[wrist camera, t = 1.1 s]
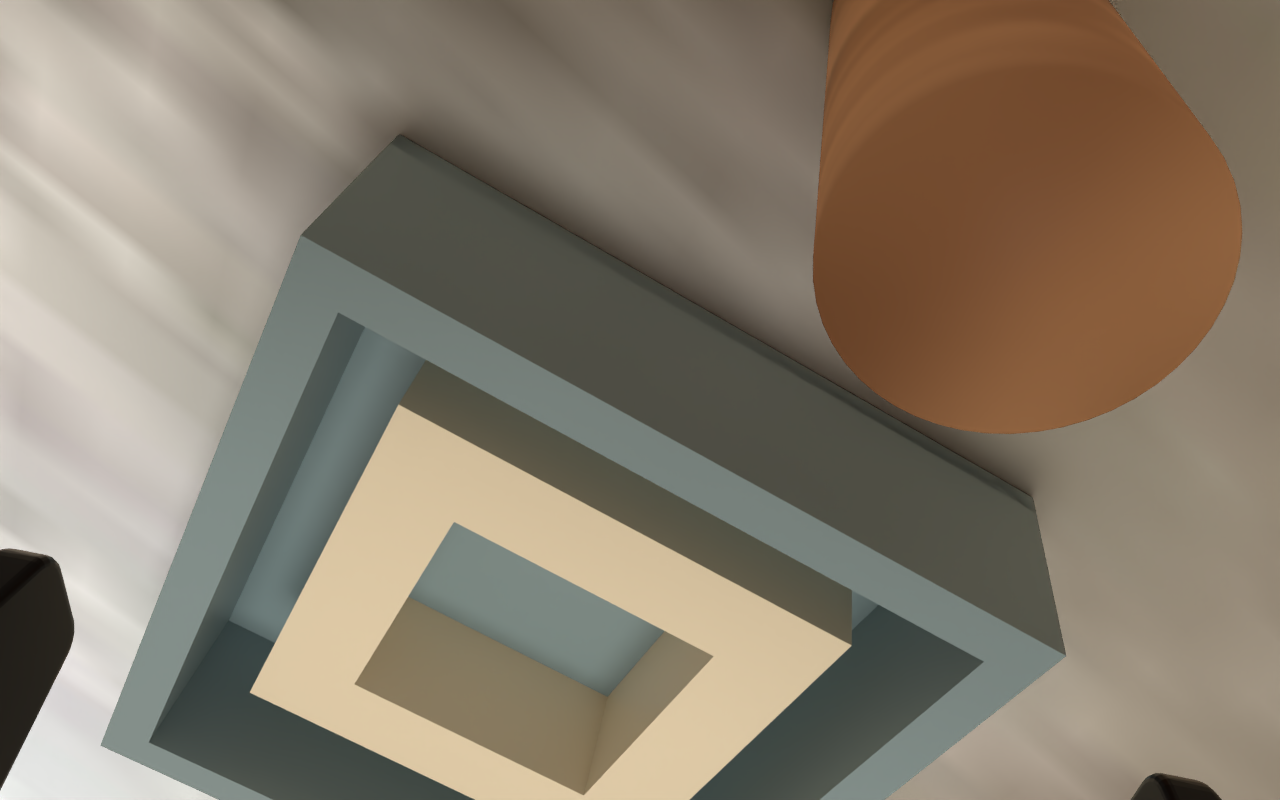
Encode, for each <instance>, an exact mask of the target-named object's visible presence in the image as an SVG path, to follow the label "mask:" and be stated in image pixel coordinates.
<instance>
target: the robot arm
mask: <svg viewBox="0 0 1280 800" xmlns="http://www.w3.org/2000/svg"><path fill="white" fill-rule="evenodd" d="M73 636H74V620H73V616H72V612H71V608H70V604H69V600H68V596H67V592H66V588H65V584H64V580H63V577H62V573H61V569H60V566H59V564H58V563H57V562H56V561H55V560H54V559H53V558H52V557H50V556H47V555H43V554H38V553H33V552H28V551H23V550H18V549H2V550H0V790H1V788H2V786H3V784H4V782H5V780H6V778H7V776H8V774H9V772H10V770H11V768H12V766H13V764H14V762H15V760H16V758H17V756H18V754H19V751H20V749H21V747H22V745H23V743H24V741H25V739H26V737H27V735H28V733H29V731H30V729H31V727H32V725H33V723H34V721H35V719H36V717H37V715H38V713H39V711H40V709H41V707H42V705H43V703H44V701H45V699H46V697H47V695H48V693H49V691H50V689H51V687H52V685H53V683H54V681H55V679H56V677H57V675H58V673H59V671H60V669H61V667H62V665H63V663H64V661H65V659H66V657H67V655H68V653H69V650H70V648H71V644H72V641H73ZM1131 800H1222V799H1221V798H1220V797H1219V796H1218V795H1217V794H1216V793H1215V791H1214V790H1212V789H1211V788H1210V787H1209V786H1208V785H1206V784H1204V783H1203V782H1200V781H1197V780H1193V779H1188V778H1183V777H1178V776H1173V775H1168V774H1163V773H1155V774H1153V775H1151V776H1149V777H1147V778H1146V779H1145V780H1144V781H1143V782H1142V784H1141V785H1140V787H1139V788H1138V790H1137V791H1136V793H1135V794H1134V796H1133V797H1132V799H1131Z"/></svg>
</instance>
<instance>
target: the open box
mask: <svg viewBox="0 0 1280 800" xmlns="http://www.w3.org/2000/svg"><path fill="white" fill-rule="evenodd" d="M1065 656H1066V653H1065V648H1064V643H1063V639H1062V634H1061V629H1060V624H1059V620H1058V615H1057V610H1056V605H1055V601H1054V596H1053V591H1052V586H1051V582H1050V577H1049V572H1048V567H1047V563H1046V558H1045V553H1044V548H1043V544H1042V539H1041V534H1040V529H1039V525H1038V520H1037V515H1036V510H1035V506H1034V501H1033V498H1032V497H1030V496H1029V495H1027V494H1025V493H1024V492H1022V491H1020V490H1018V489H1017V488H1015V487H1013V486H1011V485H1010V484H1008V483H1006V482H1004V481H1003V480H1001V479H999V478H997V477H996V476H994V475H992V474H990V473H989V472H987V471H985V470H983V469H982V468H980V467H978V466H976V465H975V464H973V463H971V462H969V461H968V460H966V459H964V458H963V457H961V456H959V455H957V454H956V453H954V452H952V451H950V450H949V449H947V448H945V447H943V446H942V445H940V444H938V443H936V442H935V441H933V440H931V439H929V438H928V437H926V436H924V435H922V434H921V433H919V432H917V431H915V430H914V429H912V428H910V427H909V426H907V425H905V424H903V423H902V422H900V421H898V420H896V419H895V418H893V417H891V416H889V415H888V414H886V413H884V412H882V411H881V410H879V409H877V408H875V407H874V406H872V405H870V404H868V403H867V402H865V401H863V400H861V399H860V398H858V397H856V396H855V395H853V394H851V393H849V392H848V391H846V390H844V389H842V388H841V387H839V386H837V385H835V384H834V383H832V382H830V381H828V380H827V379H825V378H823V377H821V376H820V375H818V374H816V373H814V372H813V371H811V370H809V369H807V368H806V367H804V366H802V365H801V364H799V363H797V362H795V361H794V360H792V359H790V358H788V357H787V356H785V355H783V354H781V353H780V352H778V351H776V350H774V349H773V348H771V347H769V346H767V345H766V344H764V343H762V342H760V341H759V340H757V339H755V338H753V337H752V336H750V335H748V334H747V333H745V332H743V331H741V330H740V329H738V328H736V327H734V326H733V325H731V324H729V323H727V322H726V321H724V320H722V319H720V318H719V317H717V316H715V315H713V314H712V313H710V312H708V311H706V310H705V309H703V308H701V307H699V306H698V305H696V304H694V303H692V302H691V301H689V300H687V299H686V298H684V297H682V296H680V295H679V294H677V293H675V292H673V291H672V290H670V289H668V288H666V287H665V286H663V285H661V284H659V283H658V282H656V281H654V280H652V279H651V278H649V277H647V276H645V275H644V274H642V273H640V272H638V271H637V270H635V269H633V268H632V267H630V266H628V265H626V264H625V263H623V262H621V261H619V260H618V259H616V258H614V257H612V256H611V255H609V254H607V253H605V252H604V251H602V250H600V249H598V248H597V247H595V246H593V245H591V244H590V243H588V242H586V241H584V240H583V239H581V238H579V237H578V236H576V235H574V234H572V233H571V232H569V231H567V230H565V229H564V228H562V227H560V226H558V225H557V224H555V223H553V222H551V221H550V220H548V219H546V218H544V217H543V216H541V215H539V214H537V213H536V212H534V211H532V210H530V209H529V208H527V207H525V206H524V205H522V204H520V203H518V202H517V201H515V200H513V199H511V198H510V197H508V196H506V195H504V194H503V193H501V192H499V191H497V190H496V189H494V188H492V187H490V186H489V185H487V184H485V183H483V182H482V181H480V180H478V179H476V178H475V177H473V176H471V175H470V174H468V173H466V172H464V171H463V170H461V169H459V168H457V167H456V166H454V165H452V164H450V163H449V162H447V161H445V160H443V159H442V158H440V157H438V156H436V155H435V154H433V153H431V152H429V151H428V150H426V149H424V148H422V147H421V146H419V145H417V144H415V143H414V142H412V141H410V140H409V139H407V138H405V137H403V136H402V135H400V134H399V135H398V136H397V137H396V138H395V139H394V140H393V141H392V142H391V143H390V144H389V145H388V146H387V147H386V148H385V149H384V150H383V151H382V152H381V153H380V154H379V155H378V156H377V157H376V158H375V159H374V160H373V161H372V162H371V164H370V165H369V166H368V167H367V168H366V169H365V170H364V171H363V172H362V173H361V174H360V175H359V176H358V177H357V178H356V179H355V180H354V181H353V182H352V183H351V184H350V185H349V186H348V187H347V188H346V189H345V190H344V191H343V192H342V193H341V194H340V195H339V196H338V197H337V199H336V200H335V201H334V202H333V203H332V204H331V205H330V206H329V207H328V208H327V209H326V210H325V211H324V212H323V213H322V214H321V215H320V216H319V217H318V218H317V219H316V220H315V221H314V222H313V223H312V224H311V225H310V226H309V227H308V228H307V229H306V230H305V231H304V233H303V234H302V235H301V236H300V239H299V241H298V244H297V246H296V249H295V251H294V254H293V257H292V259H291V262H290V264H289V267H288V269H287V272H286V274H285V277H284V279H283V282H282V285H281V287H280V290H279V292H278V295H277V297H276V300H275V302H274V305H273V307H272V310H271V313H270V315H269V318H268V320H267V323H266V325H265V328H264V330H263V333H262V336H261V338H260V341H259V343H258V346H257V348H256V351H255V353H254V356H253V358H252V361H251V364H250V366H249V369H248V371H247V374H246V376H245V379H244V381H243V384H242V386H241V389H240V392H239V394H238V397H237V399H236V402H235V404H234V407H233V409H232V412H231V414H230V417H229V420H228V422H227V425H226V427H225V430H224V432H223V435H222V437H221V440H220V442H219V445H218V448H217V450H216V453H215V455H214V458H213V460H212V463H211V465H210V468H209V470H208V473H207V476H206V478H205V481H204V483H203V486H202V488H201V491H200V493H199V496H198V499H197V501H196V504H195V506H194V509H193V511H192V514H191V516H190V519H189V521H188V524H187V527H186V529H185V532H184V534H183V537H182V539H181V542H180V544H179V547H178V549H177V552H176V555H175V557H174V560H173V562H172V565H171V567H170V570H169V572H168V575H167V577H166V580H165V583H164V585H163V588H162V590H161V593H160V595H159V598H158V600H157V603H156V605H155V608H154V611H153V613H152V616H151V618H150V621H149V623H148V626H147V628H146V631H145V634H144V636H143V639H142V641H141V644H140V646H139V649H138V651H137V654H136V656H135V659H134V662H133V664H132V667H131V669H130V672H129V674H128V677H127V679H126V682H125V684H124V687H123V690H122V692H121V695H120V697H119V700H118V702H117V705H116V707H115V710H114V712H113V715H112V718H111V720H110V723H109V725H108V728H107V730H106V733H105V735H104V738H103V740H102V743H101V746H103V747H105V748H107V749H109V750H111V751H114V752H116V753H118V754H120V755H122V756H125V757H127V758H129V759H131V760H133V761H135V762H138V763H140V764H142V765H144V766H146V767H149V768H151V769H153V770H155V771H157V772H160V773H162V774H164V775H166V776H168V777H170V778H173V779H175V780H177V781H179V782H181V783H184V784H186V785H188V786H190V787H192V788H195V789H197V790H199V791H201V792H203V793H205V794H208V795H210V796H212V797H214V798H216V799H219V800H885V799H886V798H887V797H889V796H890V795H891V794H892V793H894V792H895V791H896V790H897V789H899V788H900V787H901V786H902V785H904V784H905V783H906V782H908V781H909V780H910V779H911V778H913V777H914V776H915V775H916V774H918V773H919V772H920V771H921V770H923V769H924V768H925V767H926V766H928V765H929V764H930V763H932V762H933V761H934V760H935V759H937V758H938V757H939V756H940V755H942V754H943V753H944V752H945V751H947V750H948V749H949V748H951V747H952V746H953V745H954V744H956V743H957V742H958V741H959V740H961V739H962V738H963V737H964V736H966V735H967V734H968V733H969V732H971V731H972V730H973V729H975V728H976V727H977V726H978V725H980V724H981V723H982V722H983V721H985V720H986V719H987V718H988V717H990V716H991V715H992V714H993V713H995V712H996V711H997V710H999V709H1000V708H1001V707H1002V706H1004V705H1005V704H1006V703H1007V702H1009V701H1010V700H1011V699H1012V698H1014V697H1015V696H1016V695H1017V694H1019V693H1020V692H1021V691H1023V690H1024V689H1025V688H1026V687H1028V686H1029V685H1030V684H1031V683H1033V682H1034V681H1035V680H1036V679H1038V678H1039V677H1040V676H1041V675H1043V674H1044V673H1045V672H1047V671H1048V670H1049V669H1050V668H1052V667H1053V666H1054V665H1055V664H1057V663H1058V662H1059V661H1060V660H1062V659H1063V658H1064V657H1065Z"/></svg>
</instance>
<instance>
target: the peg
mask: <svg viewBox="0 0 1280 800" xmlns="http://www.w3.org/2000/svg"><path fill="white" fill-rule="evenodd" d="M1241 240H1242V220H1241V208H1240V202H1239V198H1238V194H1237V190H1236V186H1235V182H1234V179H1233V177H1232V175H1231V173H1230V170H1229V168H1228V166H1227V163H1226V161H1225V159H1224V157H1223V155H1222V154H1221V152H1220V151H1219V149H1218V148H1217V146H1216V145H1215V143H1214V142H1213V140H1212V139H1211V137H1210V136H1209V134H1208V133H1207V132H1206V130H1205V129H1204V128H1203V126H1202V125H1201V124H1200V122H1199V121H1198V120H1197V118H1196V117H1195V116H1194V114H1193V113H1192V112H1191V110H1190V109H1189V108H1188V106H1187V105H1186V104H1185V102H1184V101H1183V100H1182V98H1181V97H1180V96H1179V94H1178V93H1177V91H1176V90H1175V89H1174V87H1173V86H1172V85H1171V83H1170V82H1169V81H1168V79H1167V78H1166V77H1165V75H1164V74H1163V73H1162V71H1161V70H1160V69H1159V67H1158V66H1157V65H1156V63H1155V62H1154V61H1153V59H1152V58H1151V57H1150V55H1149V54H1148V53H1147V51H1146V50H1145V49H1144V47H1143V46H1142V45H1141V43H1140V42H1139V41H1138V39H1137V38H1136V37H1135V35H1134V34H1133V32H1132V31H1131V30H1130V28H1129V27H1128V26H1127V24H1126V23H1125V22H1124V20H1123V19H1122V18H1121V16H1120V15H1119V14H1118V12H1117V11H1116V10H1115V8H1114V7H1113V6H1112V4H1111V3H1110V2H1109V0H834V2H833V7H832V14H831V23H830V36H829V50H828V64H827V77H826V91H825V104H824V118H823V132H822V145H821V159H820V172H819V186H818V200H817V213H816V227H815V240H814V254H813V283H814V289H815V296H816V303H817V306H818V310H819V313H820V316H821V319H822V323H823V325H824V327H825V330H826V332H827V334H828V336H829V338H830V340H831V342H832V344H833V346H834V347H835V349H836V350H837V352H838V353H839V355H840V356H841V358H842V359H843V361H844V362H845V363H846V365H847V366H848V367H849V368H850V369H851V370H852V371H853V372H854V374H855V375H856V376H857V377H858V378H859V379H860V380H861V381H862V382H863V383H865V384H866V385H867V386H868V387H869V388H870V389H872V390H873V391H874V392H875V393H876V394H878V395H879V396H881V397H882V398H884V399H885V400H887V401H888V402H890V403H891V404H893V405H894V406H896V407H898V408H900V409H902V410H904V411H906V412H908V413H910V414H912V415H914V416H916V417H919V418H922V419H925V420H927V421H930V422H933V423H936V424H939V425H943V426H947V427H951V428H955V429H959V430H965V431H973V432H981V433H999V434H1015V433H1028V432H1038V431H1044V430H1050V429H1055V428H1061V427H1065V426H1068V425H1072V424H1075V423H1079V422H1082V421H1086V420H1089V419H1091V418H1094V417H1096V416H1099V415H1101V414H1104V413H1107V412H1109V411H1112V410H1114V409H1115V408H1117V407H1119V406H1121V405H1123V404H1125V403H1127V402H1129V401H1131V400H1133V399H1135V398H1136V397H1138V396H1139V395H1141V394H1142V393H1144V392H1145V391H1147V390H1149V389H1150V388H1152V387H1153V386H1155V385H1156V384H1158V383H1159V382H1160V381H1161V380H1162V379H1164V378H1165V377H1166V376H1167V375H1168V374H1170V373H1171V372H1172V371H1173V370H1174V369H1176V368H1177V367H1178V366H1179V365H1180V364H1181V363H1182V362H1183V361H1184V360H1185V359H1186V358H1187V357H1188V356H1189V355H1190V354H1191V352H1192V351H1193V350H1194V349H1195V348H1196V347H1197V346H1198V345H1199V343H1200V342H1201V341H1202V339H1203V338H1204V337H1205V335H1206V334H1207V333H1208V331H1209V330H1210V329H1211V327H1212V326H1213V324H1214V322H1215V320H1216V319H1217V317H1218V315H1219V313H1220V312H1221V310H1222V308H1223V306H1224V305H1225V302H1226V300H1227V297H1228V295H1229V292H1230V290H1231V287H1232V285H1233V282H1234V279H1235V275H1236V271H1237V267H1238V263H1239V259H1240V252H1241Z"/></svg>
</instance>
